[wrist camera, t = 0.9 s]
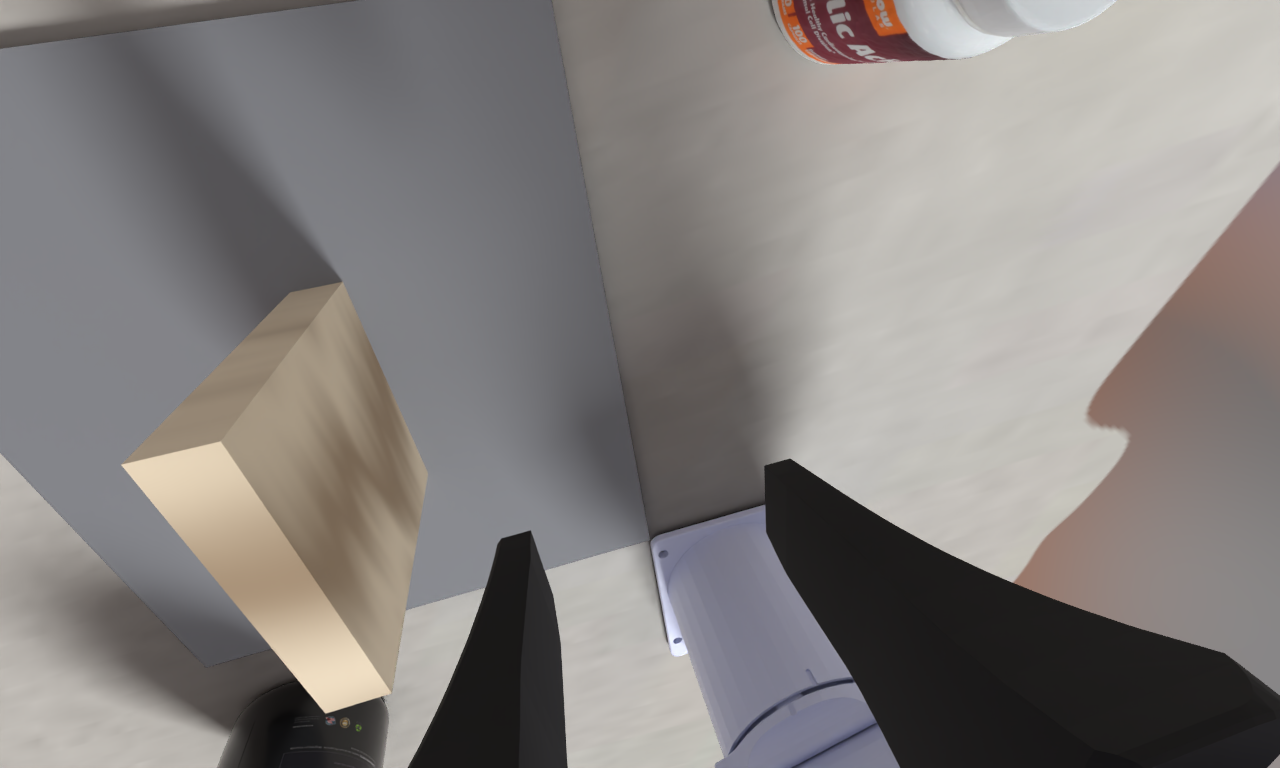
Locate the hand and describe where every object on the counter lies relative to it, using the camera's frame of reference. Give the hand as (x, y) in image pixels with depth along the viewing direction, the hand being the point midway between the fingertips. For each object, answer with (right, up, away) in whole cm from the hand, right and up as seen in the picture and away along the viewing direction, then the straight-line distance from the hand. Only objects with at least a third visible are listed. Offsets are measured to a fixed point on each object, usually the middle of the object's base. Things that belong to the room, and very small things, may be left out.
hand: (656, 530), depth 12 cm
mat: (-11, +3, +8) cm, 14 cm away
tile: (-10, +3, +7) cm, 13 cm away
